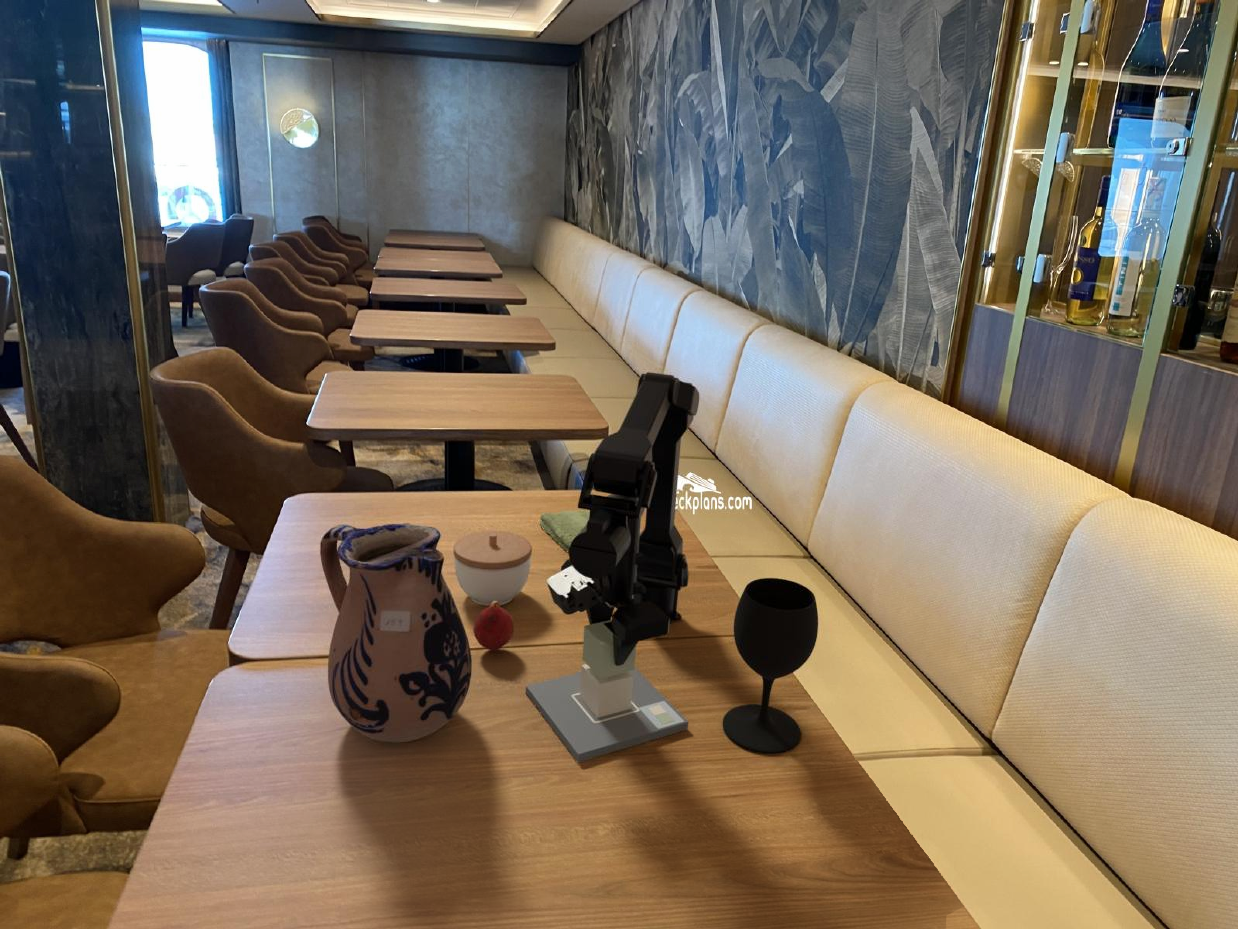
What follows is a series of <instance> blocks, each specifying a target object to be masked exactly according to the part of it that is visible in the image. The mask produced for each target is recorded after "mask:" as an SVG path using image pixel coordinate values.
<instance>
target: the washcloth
mask: <svg viewBox="0 0 1238 929" xmlns="http://www.w3.org/2000/svg"><path fill="white" fill-rule="evenodd" d="M589 516H590V510H586V509H584V510H562V511H559V512H554V513H551V512H543V513H542V514H540V518H539V519H540V521H539V527H540V526H541V527H543V528H544V530H545V533H548V534H550V535H549V537H550V538H551V539H552V538H553V539H552V540H554V541H555V543H557V544H558V546H560V547H561V548H562V549H563V550H564V551H565V550H566V551H565V552H567V551H568V552H567V554H569V547H570V545H571V542H572V541H573V539H574V538H575V537H576V536H577V535H578V533H579V532H580V531H581V530H582V529H583V528H584V526H585V525H586V524H587V521H588V520H589ZM541 527H540V528H541ZM548 534H547V535H548Z"/></svg>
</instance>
